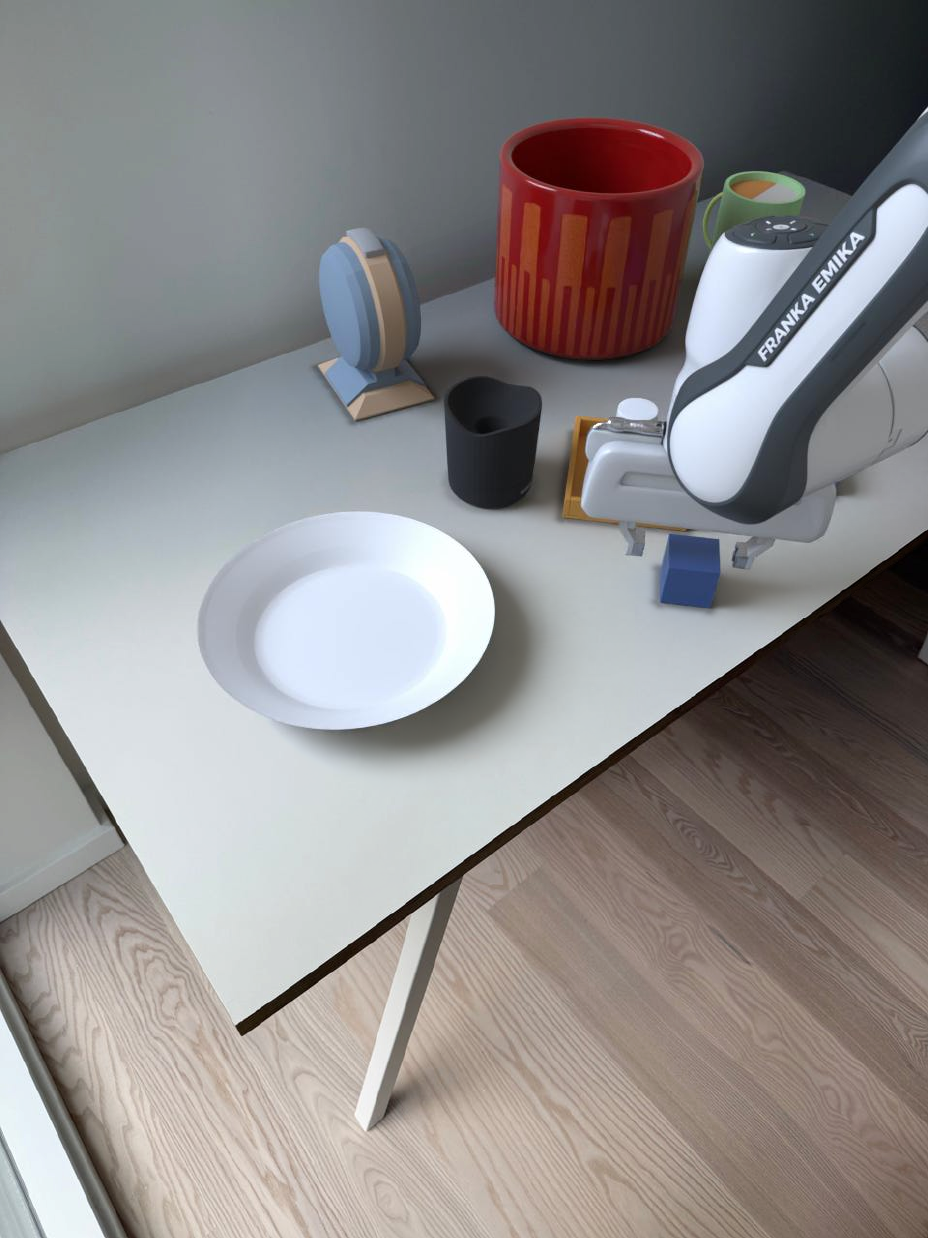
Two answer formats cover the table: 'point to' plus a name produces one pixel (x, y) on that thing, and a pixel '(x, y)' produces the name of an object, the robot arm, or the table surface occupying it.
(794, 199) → the mug
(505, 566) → the table surface
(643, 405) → the pill bottle
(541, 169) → the planter
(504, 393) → the pen holder
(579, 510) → the amber tray
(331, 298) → the alarm clock
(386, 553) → the white plate
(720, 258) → the robot arm
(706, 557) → the blue block
